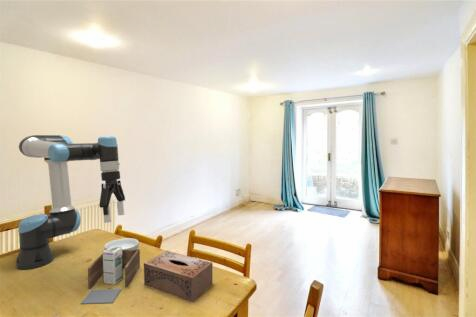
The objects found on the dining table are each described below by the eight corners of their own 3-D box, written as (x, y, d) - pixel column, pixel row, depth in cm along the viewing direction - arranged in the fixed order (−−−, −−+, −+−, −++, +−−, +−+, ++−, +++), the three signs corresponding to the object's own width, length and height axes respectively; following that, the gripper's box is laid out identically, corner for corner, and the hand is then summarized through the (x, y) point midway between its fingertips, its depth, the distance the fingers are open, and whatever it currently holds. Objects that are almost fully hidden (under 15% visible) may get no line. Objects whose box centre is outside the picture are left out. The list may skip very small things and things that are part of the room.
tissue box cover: (212, 284, 115) (212, 262, 115) (192, 302, 103) (192, 278, 102) (167, 270, 127) (167, 250, 126) (144, 285, 114) (143, 263, 114)
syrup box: (115, 284, 114) (114, 252, 113) (103, 283, 115) (102, 251, 114) (123, 278, 120) (122, 247, 118) (112, 276, 121) (111, 245, 120)
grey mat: (80, 304, 100) (80, 303, 100) (91, 290, 109) (91, 289, 109) (112, 303, 101) (112, 302, 101) (121, 289, 110) (121, 288, 110)
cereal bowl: (145, 254, 144) (145, 241, 144) (117, 266, 130) (117, 252, 130) (126, 247, 153) (126, 235, 153) (98, 258, 139) (97, 245, 139)
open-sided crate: (88, 288, 111) (87, 268, 110) (106, 267, 129) (105, 250, 128) (127, 287, 112) (127, 267, 111) (139, 267, 130) (139, 249, 129)
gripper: (105, 172, 105) (110, 224, 105) (129, 169, 130) (133, 211, 130) (86, 173, 105) (91, 226, 105) (114, 170, 130) (118, 213, 130)
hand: (114, 218), depth 118 cm, fingers open, 13 cm apart
